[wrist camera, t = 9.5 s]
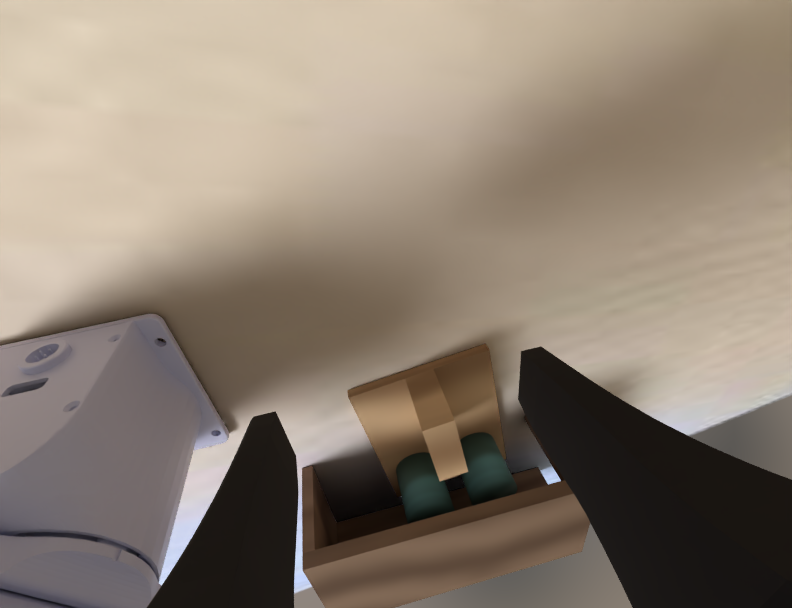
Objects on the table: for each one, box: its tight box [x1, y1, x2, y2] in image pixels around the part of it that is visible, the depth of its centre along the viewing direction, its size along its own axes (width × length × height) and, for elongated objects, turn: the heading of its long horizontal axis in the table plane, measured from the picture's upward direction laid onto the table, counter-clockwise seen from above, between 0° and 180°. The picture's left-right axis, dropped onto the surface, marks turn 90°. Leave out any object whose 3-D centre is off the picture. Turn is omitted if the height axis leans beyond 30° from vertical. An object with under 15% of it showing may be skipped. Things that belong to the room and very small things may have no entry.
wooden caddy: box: [302, 415, 590, 608], centre depth 28 cm, size 8×18×6 cm, turn 98°
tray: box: [348, 344, 517, 524], centre depth 26 cm, size 12×9×5 cm
